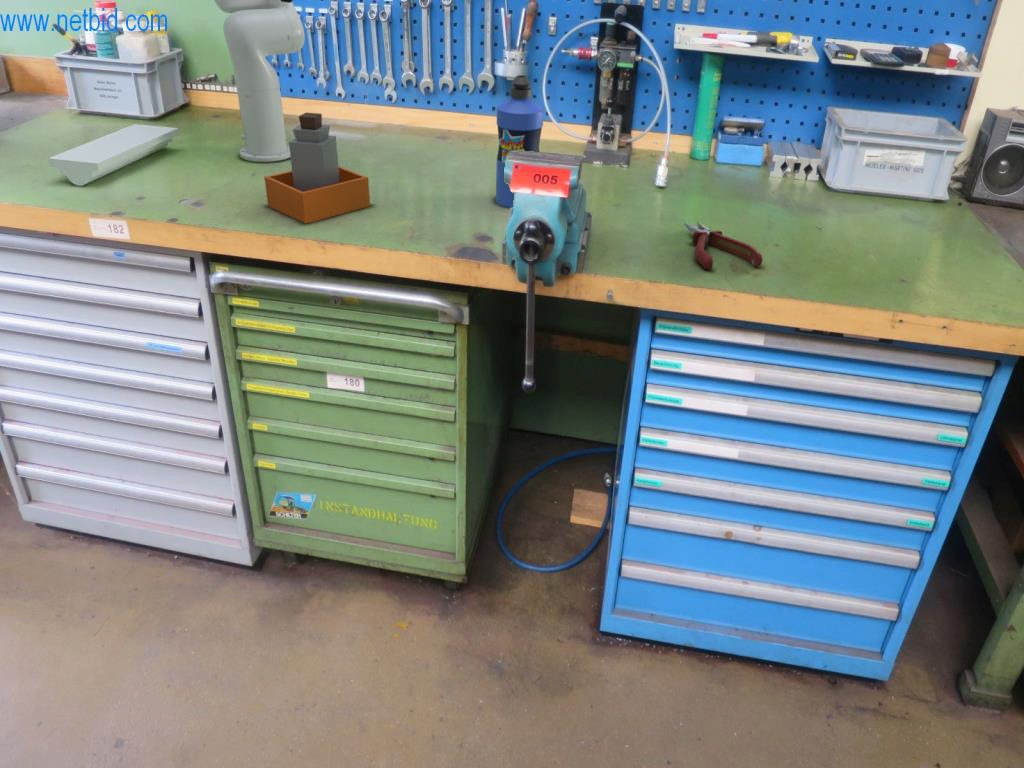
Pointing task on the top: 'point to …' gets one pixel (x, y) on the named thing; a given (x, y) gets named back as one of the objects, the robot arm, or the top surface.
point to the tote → (317, 196)
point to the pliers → (719, 246)
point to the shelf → (111, 152)
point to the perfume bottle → (313, 154)
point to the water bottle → (516, 131)
